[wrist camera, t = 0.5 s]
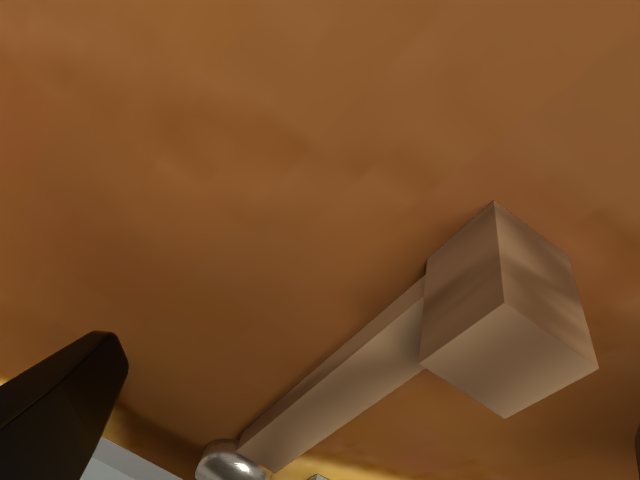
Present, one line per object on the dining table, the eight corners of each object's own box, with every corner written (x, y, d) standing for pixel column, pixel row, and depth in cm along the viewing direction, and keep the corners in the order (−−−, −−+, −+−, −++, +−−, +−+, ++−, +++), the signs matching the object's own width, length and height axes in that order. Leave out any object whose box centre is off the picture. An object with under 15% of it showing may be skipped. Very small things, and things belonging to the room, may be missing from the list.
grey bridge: (335, 483, 35) (317, 574, 31) (284, 513, 39) (262, 597, 35) (100, 350, 32) (41, 430, 28) (71, 398, 36) (17, 474, 32)
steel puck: (286, 462, 35) (278, 489, 34) (253, 485, 38) (244, 512, 37) (224, 427, 35) (213, 454, 33) (195, 453, 38) (183, 479, 36)
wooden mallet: (567, 254, 21) (599, 368, 16) (287, 455, 35) (260, 549, 30) (493, 199, 20) (504, 302, 16) (236, 427, 34) (200, 519, 29)
